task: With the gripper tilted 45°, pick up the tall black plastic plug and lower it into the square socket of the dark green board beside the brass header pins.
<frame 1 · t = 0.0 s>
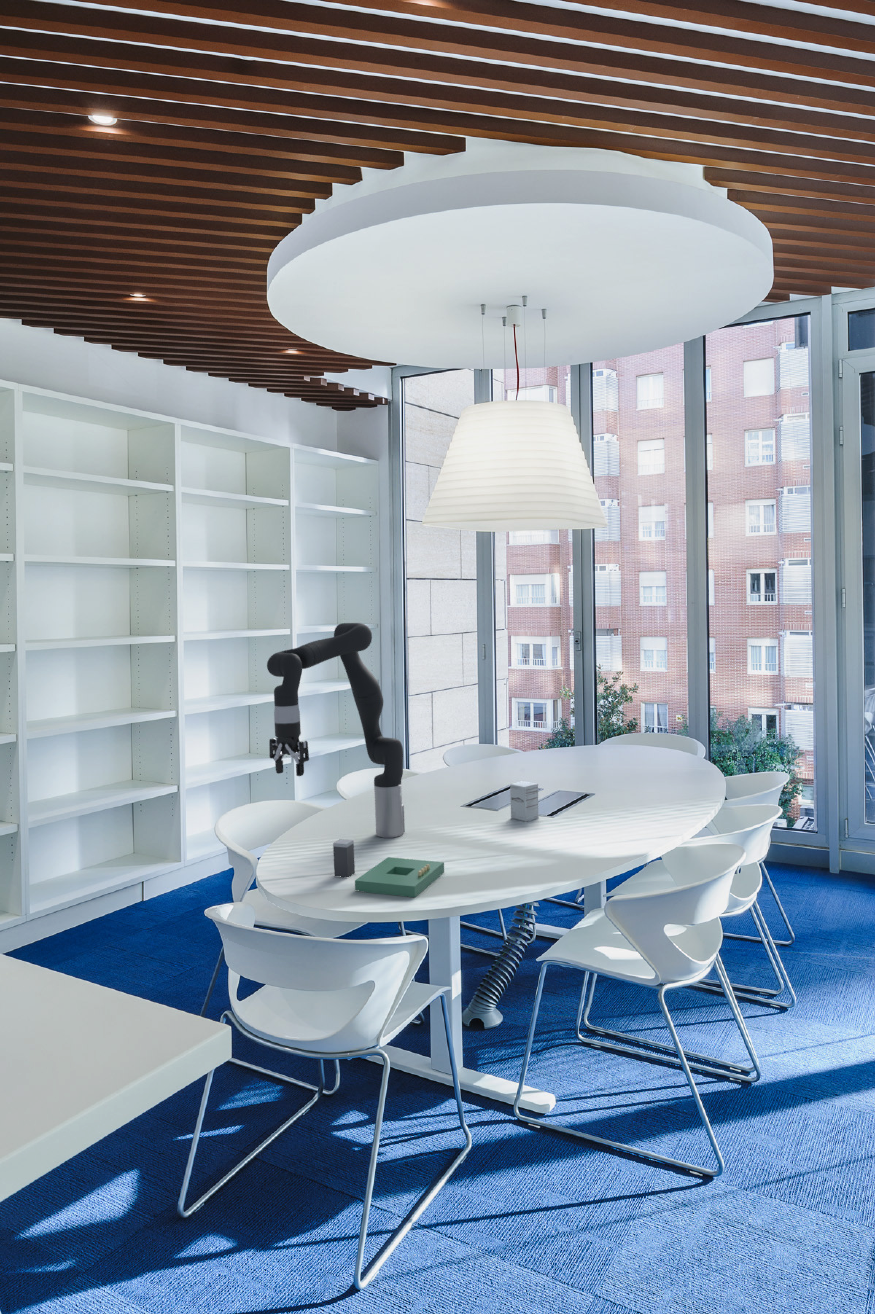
hand: (289, 774, 261), 29 cm above the table, tool pointing down, fingers open, 8 cm apart
supplement box: (524, 818, 315), on the table
socket board: (401, 881, 250), on the table
black plug: (344, 874, 257), on the table
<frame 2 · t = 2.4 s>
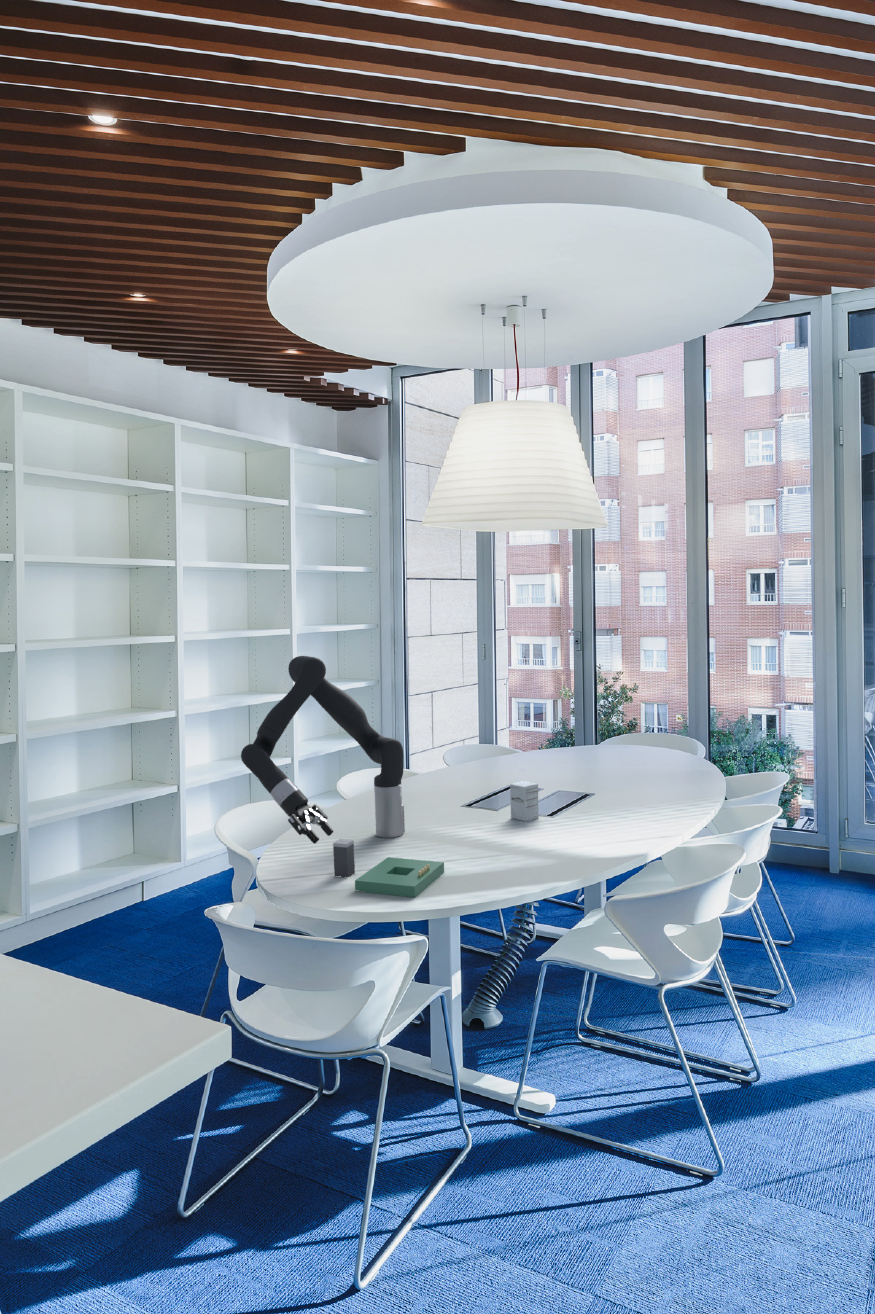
hand: (324, 837, 259), 11 cm above the table, tool tilted 45°, fingers open, 8 cm apart
nothing on the table moved.
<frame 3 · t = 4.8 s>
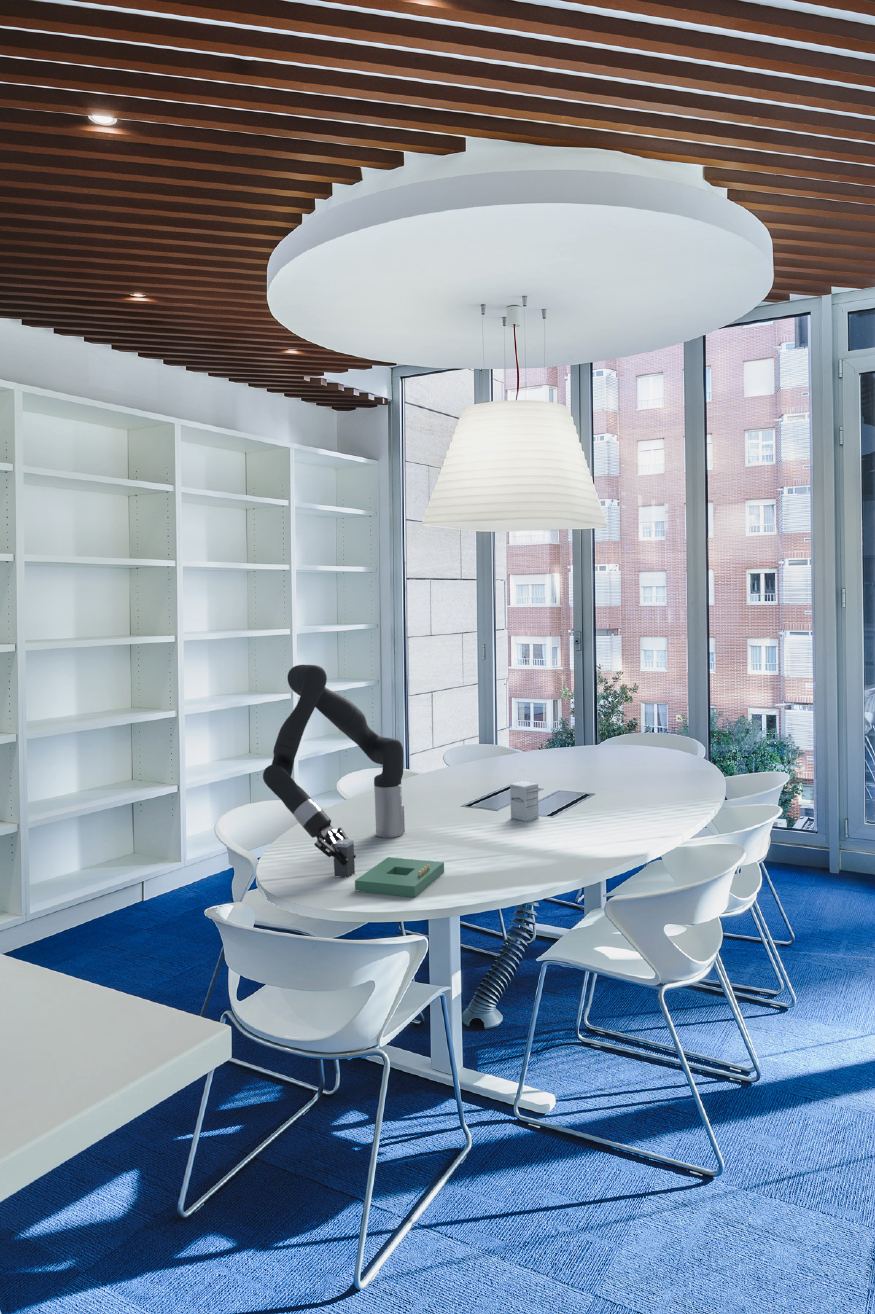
hand: (349, 860, 256), 4 cm above the table, tool tilted 45°, fingers closed on black plug, 4 cm apart
black plug: (344, 874, 257), on the table, touching gripper
everything else where it was.
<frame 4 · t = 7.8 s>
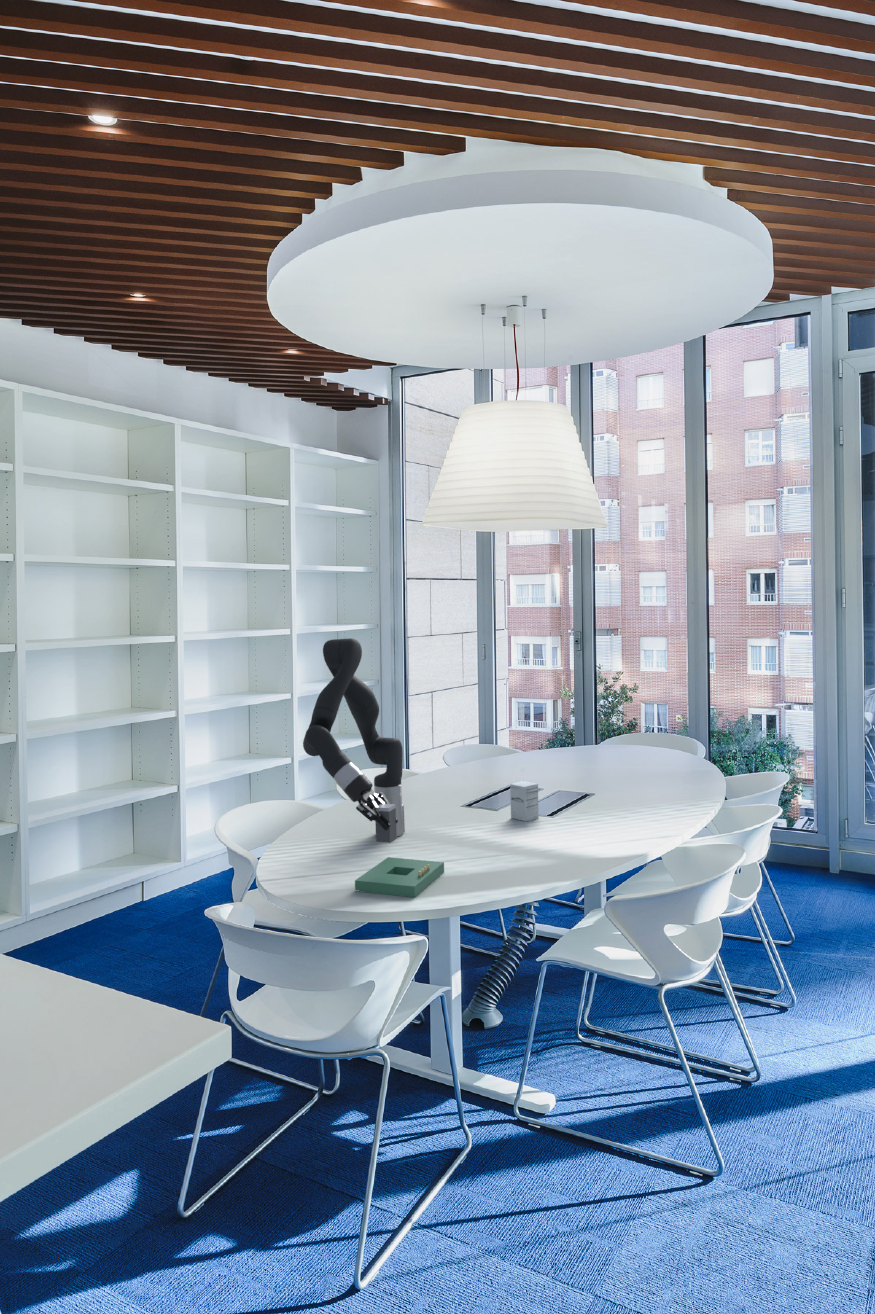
hand: (392, 825, 249), 16 cm above the table, tool tilted 45°, fingers closed on black plug, 4 cm apart
black plug: (386, 840, 250), point 12 cm above the table, touching gripper
everything else where it was.
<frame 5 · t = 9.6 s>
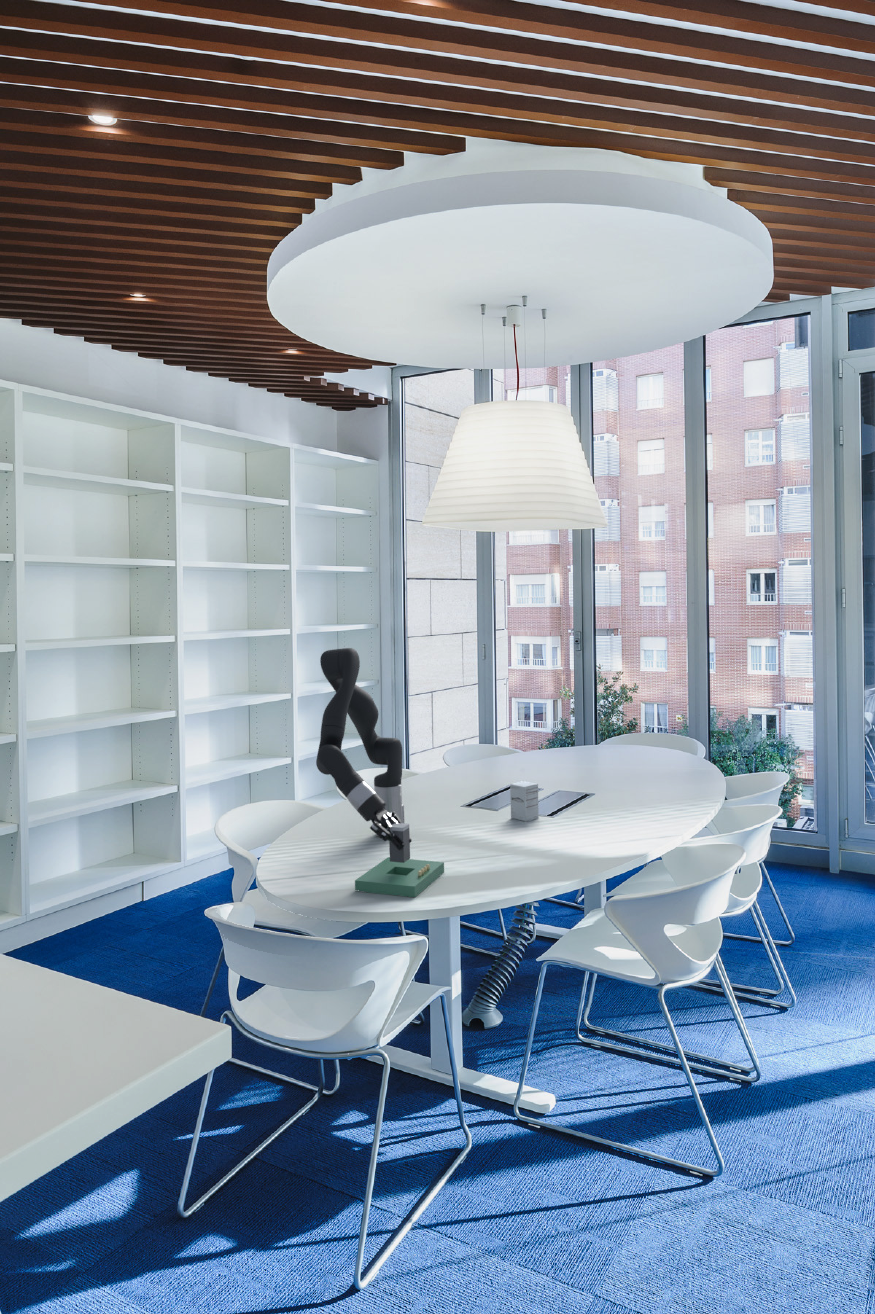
hand: (405, 845, 248), 11 cm above the table, tool tilted 45°, fingers closed on black plug, 4 cm apart
black plug: (400, 859, 249), point 6 cm above the table, touching gripper
everything else where it was.
when the fingers open (6 cm above the table, at t = 11.1 s): black plug drops 1 cm, resting in socket board.
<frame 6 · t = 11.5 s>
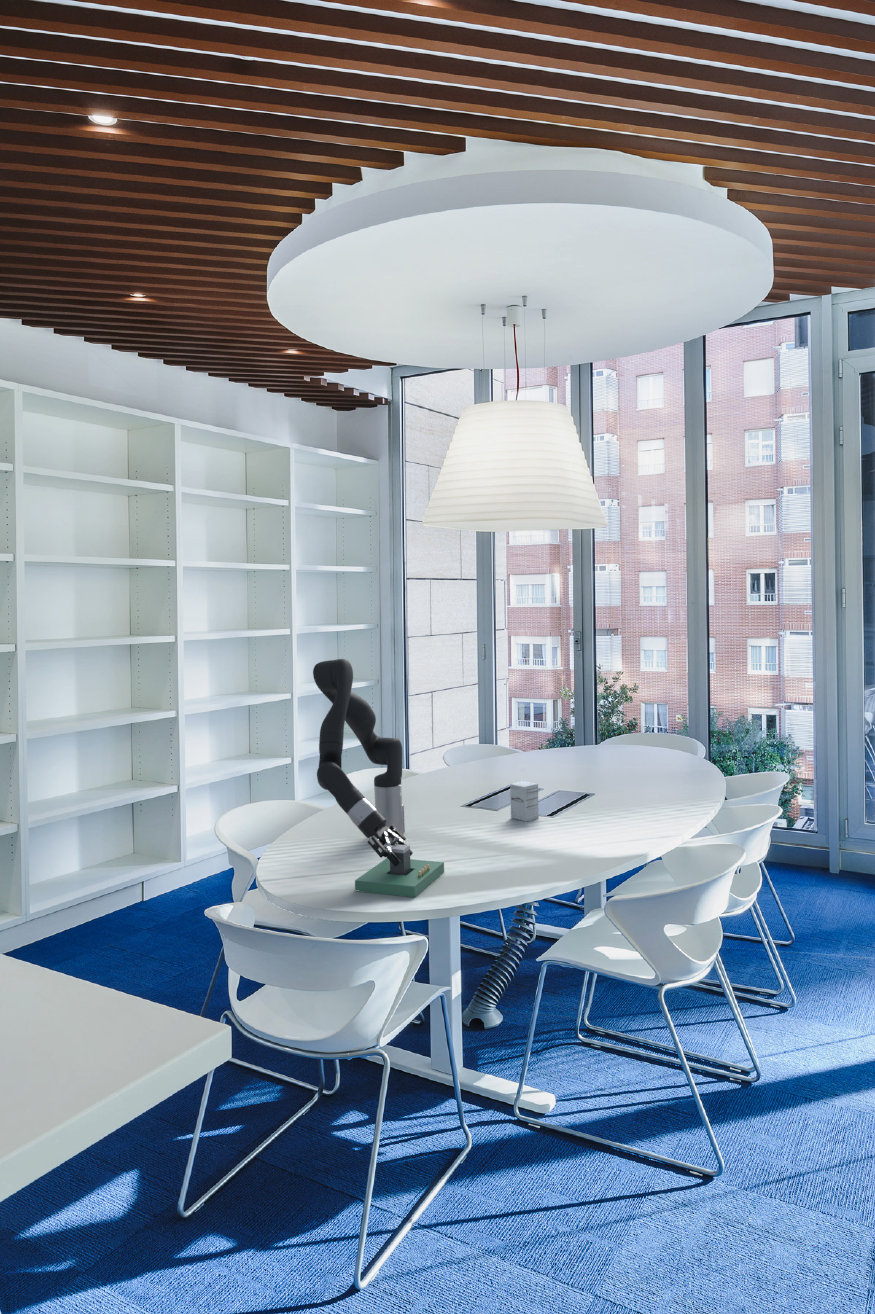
hand: (404, 859, 249), 6 cm above the table, tool tilted 45°, fingers open, 8 cm apart
black plug: (400, 881, 250), resting in socket board
everything else where it was.
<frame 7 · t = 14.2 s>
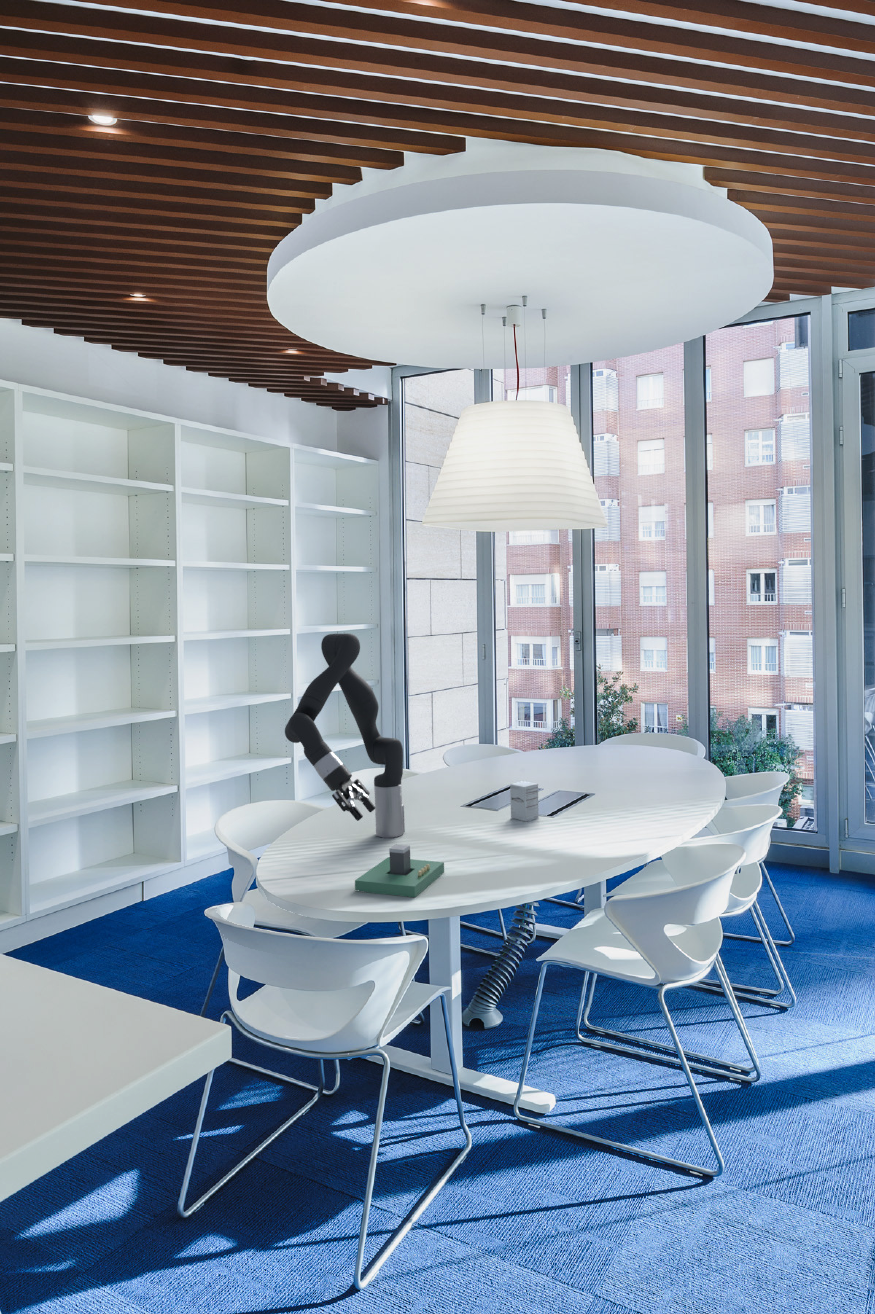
hand: (366, 814, 255), 18 cm above the table, tool tilted 40°, fingers open, 8 cm apart
nothing on the table moved.
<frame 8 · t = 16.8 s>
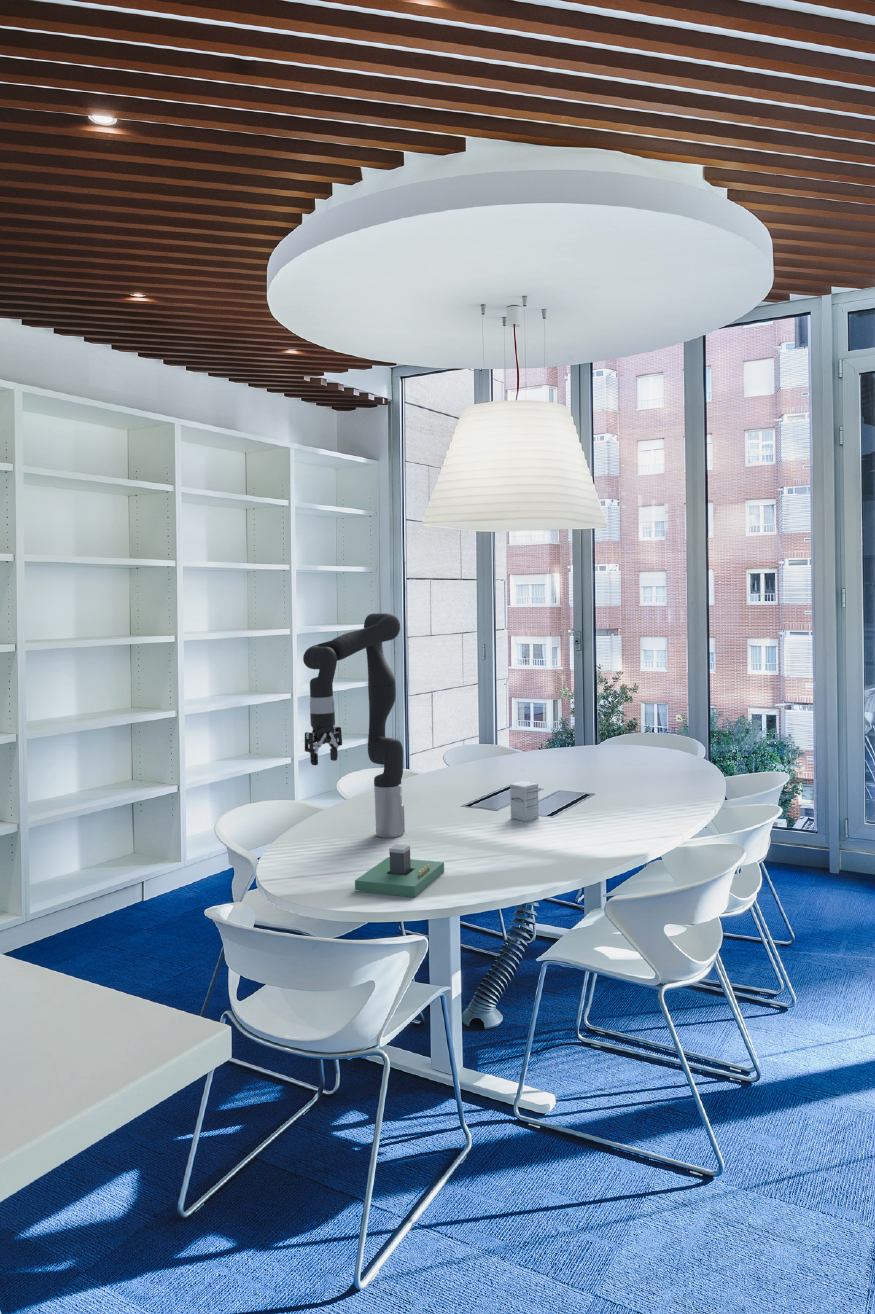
hand: (324, 762, 273), 30 cm above the table, tool pointing down, fingers open, 8 cm apart
nothing on the table moved.
at the end: black plug 0.1 cm off-centre on the socket board, point 0.0 cm above the socket board's base; black plug tilted 0°; the gripper is holding nothing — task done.
